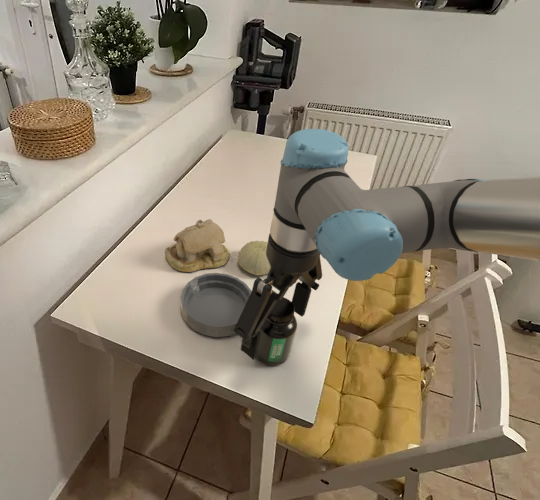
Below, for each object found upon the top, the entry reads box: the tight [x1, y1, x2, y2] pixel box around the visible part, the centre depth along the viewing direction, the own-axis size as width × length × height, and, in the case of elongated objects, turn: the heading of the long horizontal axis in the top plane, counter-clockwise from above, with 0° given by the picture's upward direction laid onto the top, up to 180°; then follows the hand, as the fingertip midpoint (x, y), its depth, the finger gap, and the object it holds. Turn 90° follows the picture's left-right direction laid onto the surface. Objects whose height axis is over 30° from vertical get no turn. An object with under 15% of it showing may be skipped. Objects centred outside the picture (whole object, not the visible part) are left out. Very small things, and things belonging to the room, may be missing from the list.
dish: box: [180, 272, 252, 338], centre depth 85 cm, size 14×14×4 cm
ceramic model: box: [164, 218, 231, 273], centre depth 95 cm, size 14×11×10 cm
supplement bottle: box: [255, 296, 298, 367], centre depth 74 cm, size 7×7×12 cm
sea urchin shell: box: [237, 240, 271, 277], centre depth 95 cm, size 9×8×8 cm
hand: (273, 331), depth 75 cm, fingers open, 13 cm apart
